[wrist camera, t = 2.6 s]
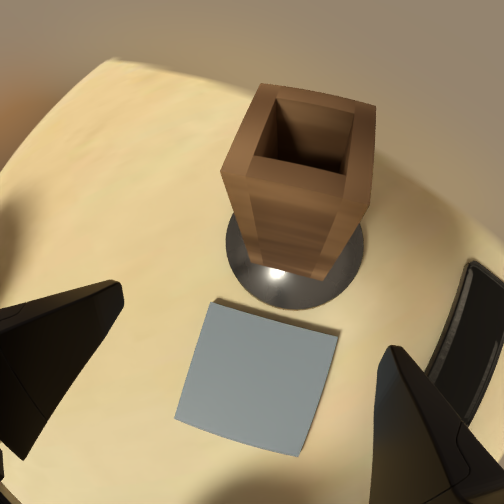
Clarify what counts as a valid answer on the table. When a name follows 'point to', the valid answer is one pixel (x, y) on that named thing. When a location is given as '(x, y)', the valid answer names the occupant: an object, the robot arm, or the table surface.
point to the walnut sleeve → (300, 177)
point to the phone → (470, 341)
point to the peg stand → (292, 275)
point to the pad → (255, 380)
